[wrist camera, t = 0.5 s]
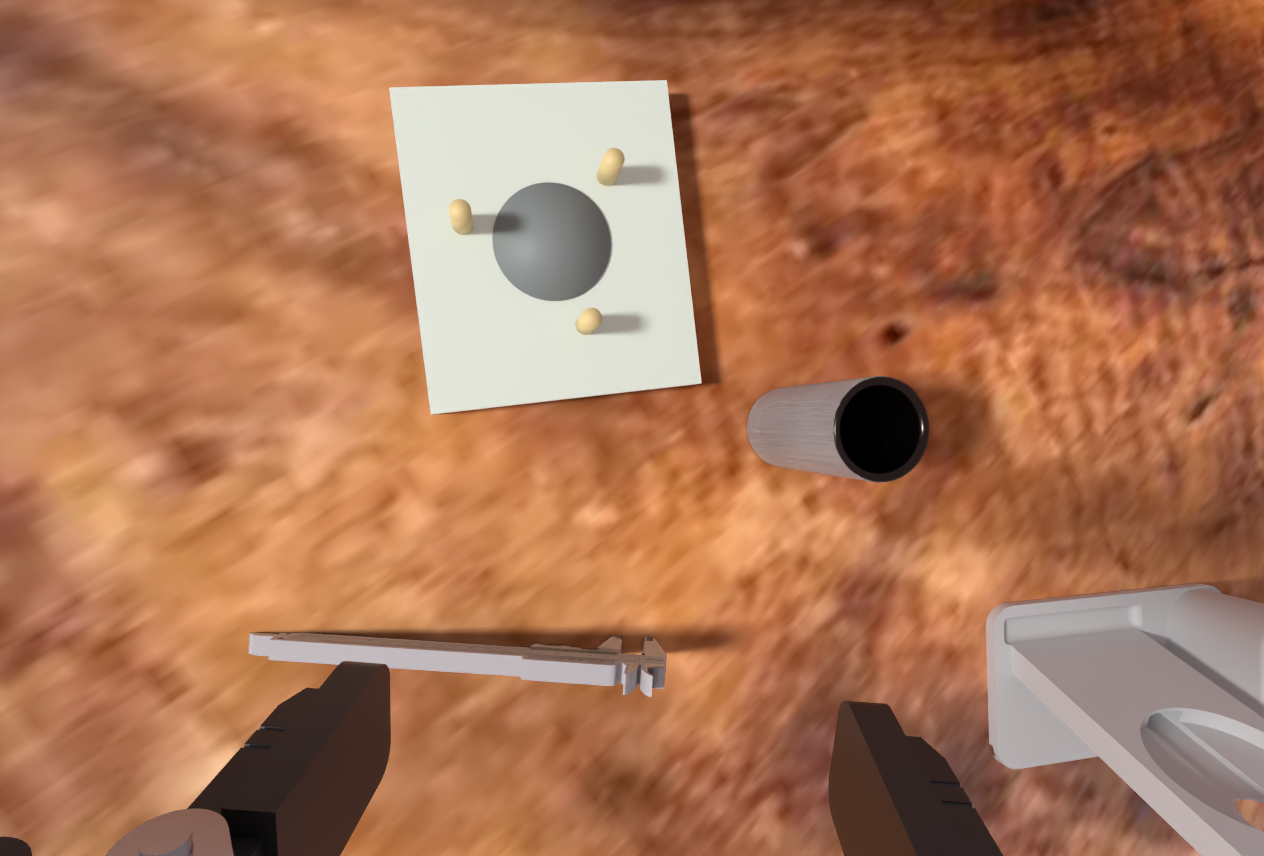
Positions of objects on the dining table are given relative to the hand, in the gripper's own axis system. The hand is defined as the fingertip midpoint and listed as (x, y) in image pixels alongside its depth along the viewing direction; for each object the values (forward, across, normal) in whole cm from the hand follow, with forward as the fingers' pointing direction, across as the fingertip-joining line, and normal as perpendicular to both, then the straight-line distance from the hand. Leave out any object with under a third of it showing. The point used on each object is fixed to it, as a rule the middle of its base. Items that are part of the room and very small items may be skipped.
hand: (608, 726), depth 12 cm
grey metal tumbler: (+28, -8, 0) cm, 29 cm away
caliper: (+22, +9, +12) cm, 26 cm away
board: (+27, +5, -9) cm, 29 cm away
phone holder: (+30, -30, +15) cm, 45 cm away
